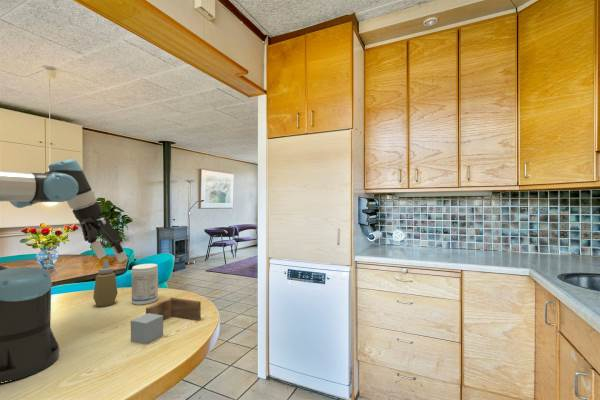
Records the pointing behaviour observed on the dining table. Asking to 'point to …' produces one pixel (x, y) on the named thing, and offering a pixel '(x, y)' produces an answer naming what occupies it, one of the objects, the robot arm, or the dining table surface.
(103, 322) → the dining table surface
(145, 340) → the grey block
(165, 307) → the corner fence
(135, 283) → the supplement tub
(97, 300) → the squeeze bottle
